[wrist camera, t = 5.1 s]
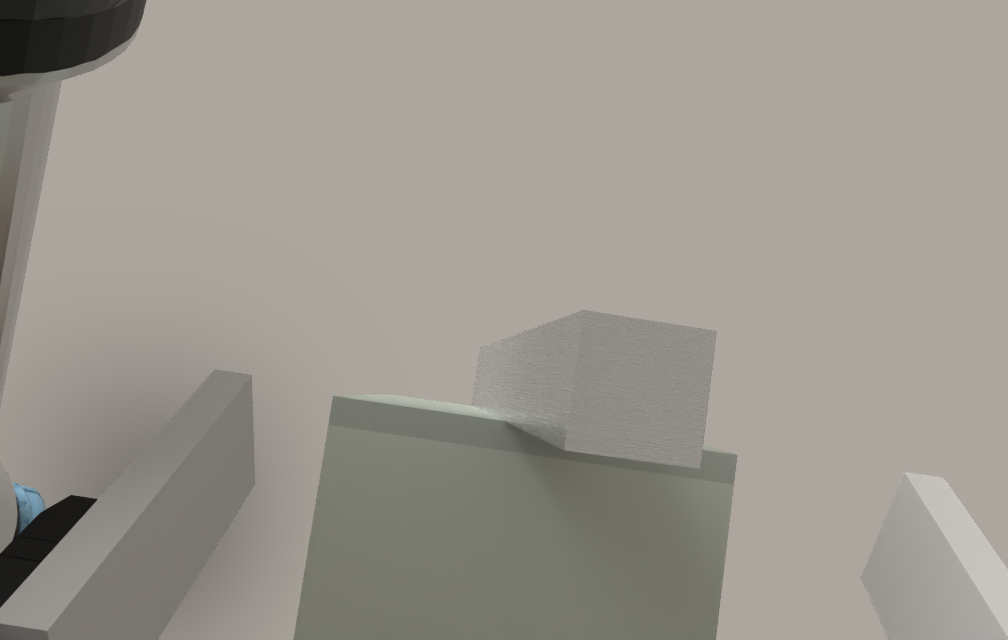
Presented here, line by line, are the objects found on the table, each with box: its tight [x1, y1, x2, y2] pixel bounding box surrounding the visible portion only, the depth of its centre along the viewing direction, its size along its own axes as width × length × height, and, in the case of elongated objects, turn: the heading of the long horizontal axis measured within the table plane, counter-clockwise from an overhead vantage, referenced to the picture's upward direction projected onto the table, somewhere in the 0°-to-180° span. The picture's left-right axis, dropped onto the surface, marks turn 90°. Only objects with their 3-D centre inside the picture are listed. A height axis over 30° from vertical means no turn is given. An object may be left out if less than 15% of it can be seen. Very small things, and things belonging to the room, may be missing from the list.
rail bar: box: [472, 310, 717, 469], centre depth 29 cm, size 24×3×3 cm, turn 7°
